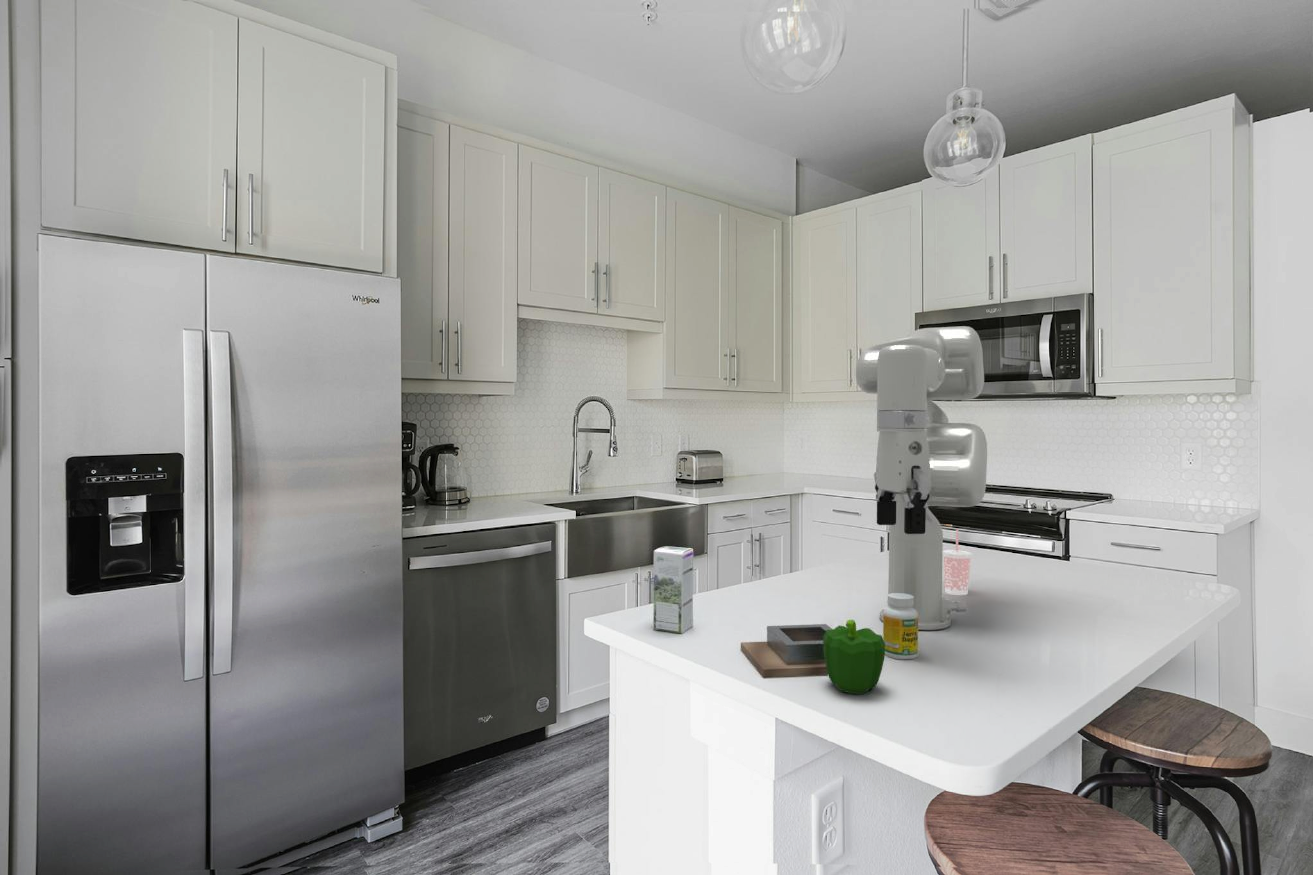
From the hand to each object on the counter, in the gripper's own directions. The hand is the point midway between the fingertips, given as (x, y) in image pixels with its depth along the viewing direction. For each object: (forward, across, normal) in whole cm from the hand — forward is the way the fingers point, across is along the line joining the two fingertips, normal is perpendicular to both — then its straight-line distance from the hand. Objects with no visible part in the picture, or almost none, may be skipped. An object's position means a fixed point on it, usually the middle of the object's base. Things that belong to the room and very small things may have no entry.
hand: (899, 528), depth 115 cm
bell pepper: (+20, -13, +13) cm, 28 cm away
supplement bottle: (+20, 0, 0) cm, 21 cm away
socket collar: (+19, -1, +16) cm, 25 cm away
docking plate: (+20, -1, +16) cm, 26 cm away
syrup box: (+20, +18, +34) cm, 44 cm away
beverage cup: (+21, +39, -33) cm, 55 cm away
